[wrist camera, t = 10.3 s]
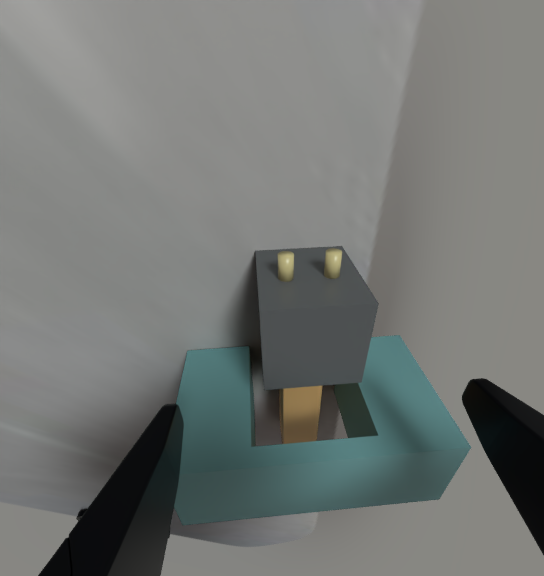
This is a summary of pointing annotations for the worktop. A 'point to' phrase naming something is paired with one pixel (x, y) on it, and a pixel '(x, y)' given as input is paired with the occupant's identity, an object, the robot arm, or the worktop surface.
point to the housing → (317, 454)
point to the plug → (311, 330)
